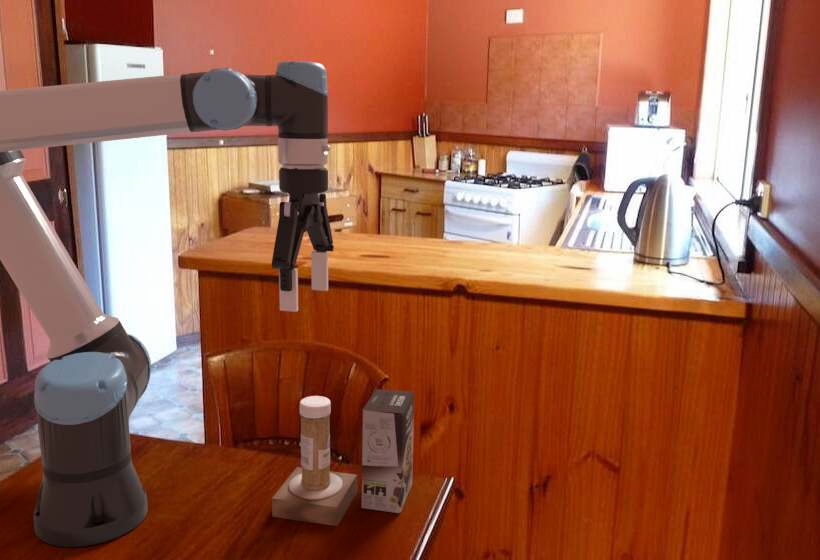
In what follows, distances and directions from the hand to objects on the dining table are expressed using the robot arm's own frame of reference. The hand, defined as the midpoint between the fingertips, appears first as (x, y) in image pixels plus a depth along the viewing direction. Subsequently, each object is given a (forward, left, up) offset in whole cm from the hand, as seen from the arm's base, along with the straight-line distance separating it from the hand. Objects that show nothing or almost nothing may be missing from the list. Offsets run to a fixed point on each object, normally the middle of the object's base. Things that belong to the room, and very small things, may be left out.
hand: (305, 299), depth 118 cm
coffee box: (+16, -7, -29) cm, 34 cm away
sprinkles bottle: (+6, -12, -26) cm, 29 cm away
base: (+6, -12, -29) cm, 32 cm away
